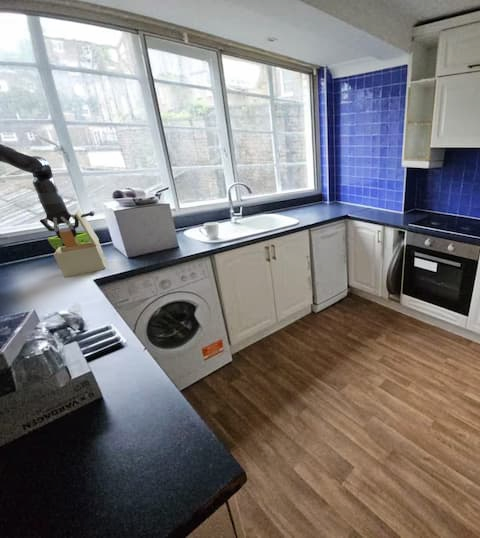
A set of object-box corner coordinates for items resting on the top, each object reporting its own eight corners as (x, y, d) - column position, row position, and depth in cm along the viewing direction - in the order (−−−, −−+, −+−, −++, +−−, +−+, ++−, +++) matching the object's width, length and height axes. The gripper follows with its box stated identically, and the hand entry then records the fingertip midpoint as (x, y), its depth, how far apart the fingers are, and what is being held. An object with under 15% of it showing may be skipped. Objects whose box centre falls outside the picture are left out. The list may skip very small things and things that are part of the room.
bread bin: (64, 277, 141) (53, 254, 136) (68, 268, 151) (58, 247, 146) (105, 268, 149) (96, 247, 144) (107, 261, 159) (98, 240, 155)
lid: (74, 214, 136) (90, 210, 139) (78, 210, 147) (92, 206, 149) (94, 246, 144) (109, 242, 147) (97, 240, 154) (110, 236, 157)
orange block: (66, 247, 141) (57, 229, 138) (67, 245, 145) (59, 228, 141) (77, 245, 144) (69, 228, 140) (78, 243, 147) (70, 226, 143)
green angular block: (101, 251, 175) (92, 231, 170) (77, 260, 162) (67, 238, 157) (81, 251, 177) (72, 231, 172) (56, 260, 164) (45, 238, 159)
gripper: (74, 199, 142) (88, 233, 149) (33, 203, 135) (50, 238, 142) (71, 201, 137) (86, 236, 143) (28, 205, 129) (46, 242, 136)
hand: (68, 237), depth 142 cm, fingers closed on orange block, 4 cm apart
